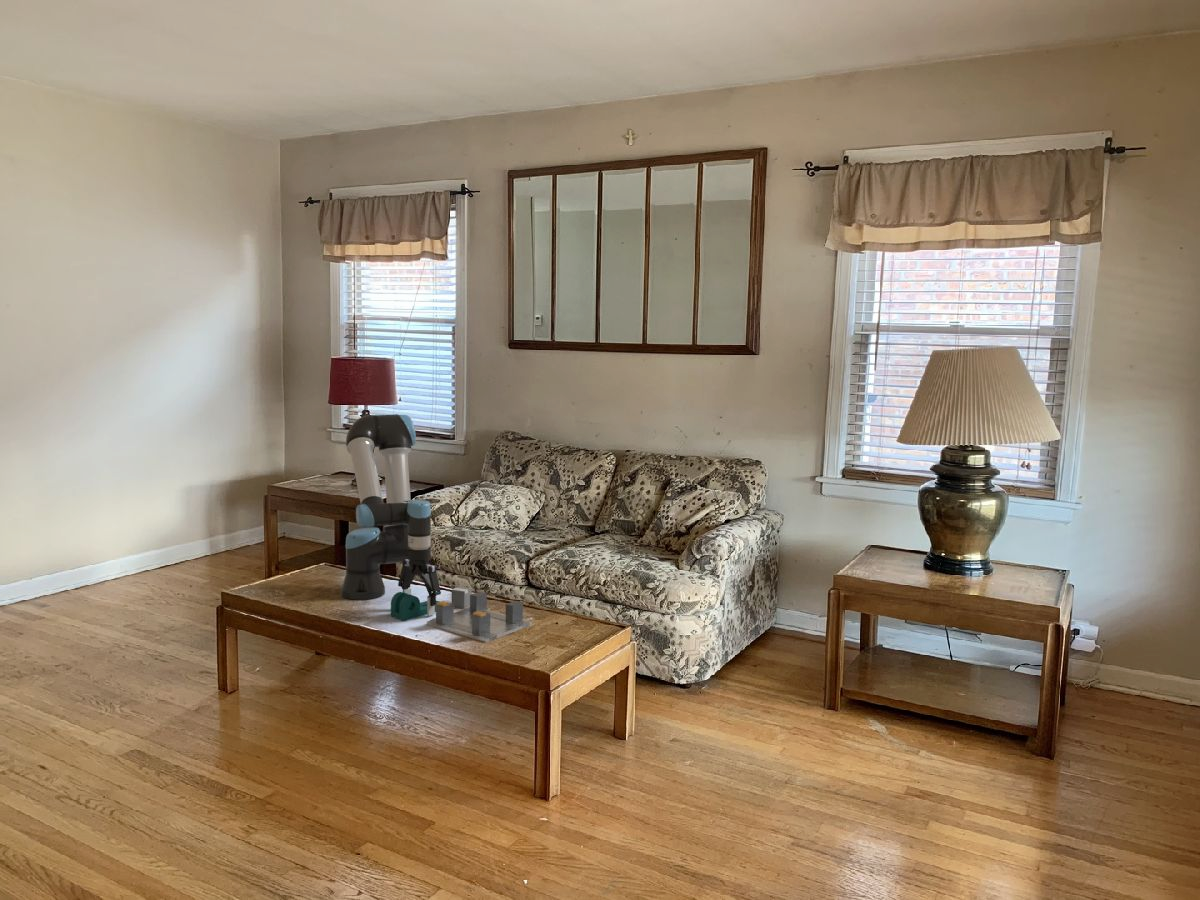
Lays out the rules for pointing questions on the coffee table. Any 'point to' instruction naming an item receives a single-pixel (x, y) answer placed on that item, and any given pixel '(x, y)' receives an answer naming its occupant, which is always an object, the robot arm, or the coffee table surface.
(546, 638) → the coffee table surface
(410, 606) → the bracket
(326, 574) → the coffee table surface
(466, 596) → the block
